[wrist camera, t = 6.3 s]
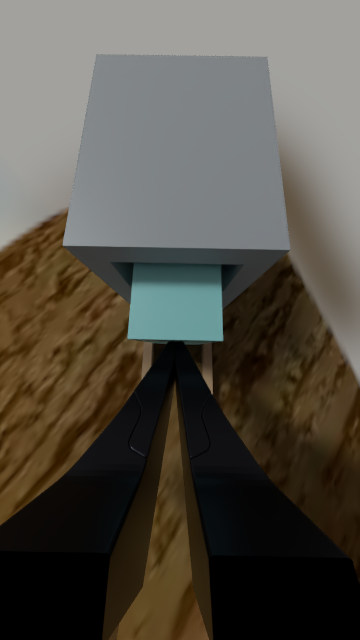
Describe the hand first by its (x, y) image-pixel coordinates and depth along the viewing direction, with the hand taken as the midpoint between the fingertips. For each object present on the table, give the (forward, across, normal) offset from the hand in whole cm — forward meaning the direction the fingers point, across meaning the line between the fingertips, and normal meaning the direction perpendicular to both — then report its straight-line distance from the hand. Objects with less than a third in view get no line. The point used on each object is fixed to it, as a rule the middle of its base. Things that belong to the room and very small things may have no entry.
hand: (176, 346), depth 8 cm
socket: (+11, 0, -1) cm, 11 cm away
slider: (+8, 0, +2) cm, 8 cm away
